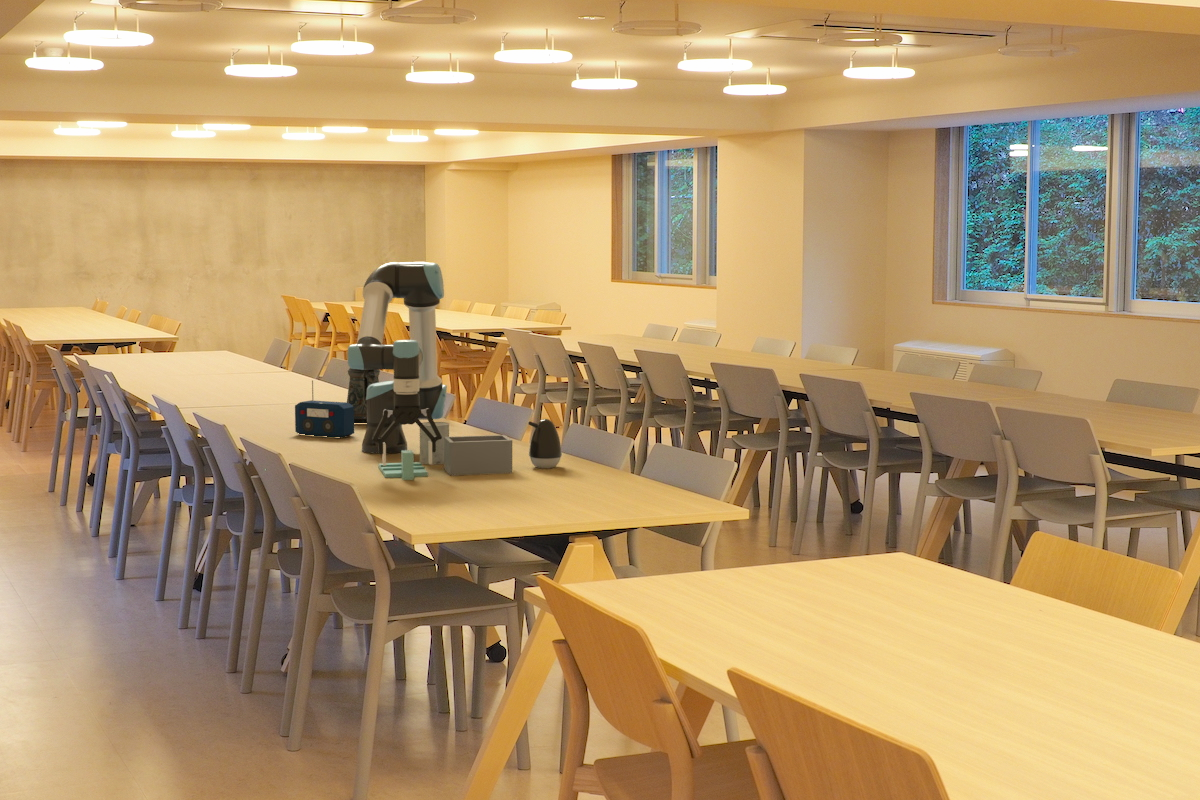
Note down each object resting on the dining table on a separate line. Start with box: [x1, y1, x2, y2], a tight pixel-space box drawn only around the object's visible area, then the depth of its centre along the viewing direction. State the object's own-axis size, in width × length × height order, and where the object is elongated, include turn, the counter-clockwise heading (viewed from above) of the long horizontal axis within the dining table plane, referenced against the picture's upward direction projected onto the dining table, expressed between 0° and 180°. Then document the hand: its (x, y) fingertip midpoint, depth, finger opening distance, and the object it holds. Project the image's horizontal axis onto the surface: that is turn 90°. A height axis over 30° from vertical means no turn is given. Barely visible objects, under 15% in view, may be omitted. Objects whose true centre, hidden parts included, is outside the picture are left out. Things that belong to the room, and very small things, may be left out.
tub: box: [443, 434, 513, 476], centre depth 393 cm, size 12×19×10 cm, turn 105°
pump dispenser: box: [527, 418, 563, 469], centre depth 400 cm, size 10×10×15 cm
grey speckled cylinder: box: [419, 421, 450, 465], centre depth 409 cm, size 10×10×12 cm
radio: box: [294, 380, 355, 439], centre depth 465 cm, size 21×9×20 cm, turn 67°
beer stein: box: [346, 367, 381, 423], centre depth 501 cm, size 16×19×25 cm
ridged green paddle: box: [378, 449, 429, 481], centre depth 389 cm, size 13×25×8 cm, turn 15°
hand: (407, 464), depth 379 cm, fingers open, 13 cm apart
